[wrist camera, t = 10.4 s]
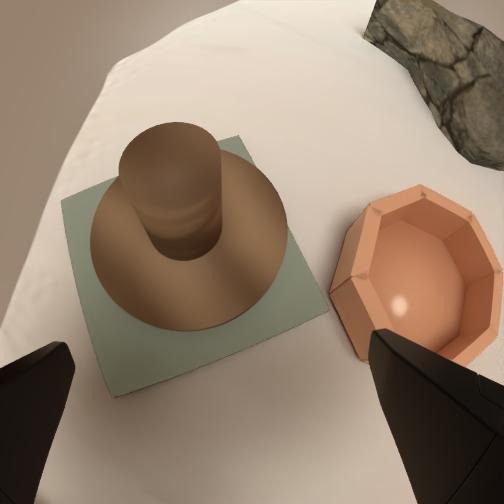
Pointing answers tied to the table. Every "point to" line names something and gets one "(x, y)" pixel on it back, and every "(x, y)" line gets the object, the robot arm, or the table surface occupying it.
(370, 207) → the terracotta bowl
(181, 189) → the walnut lid
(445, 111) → the stone wall
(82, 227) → the rubber mat
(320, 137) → the table surface
